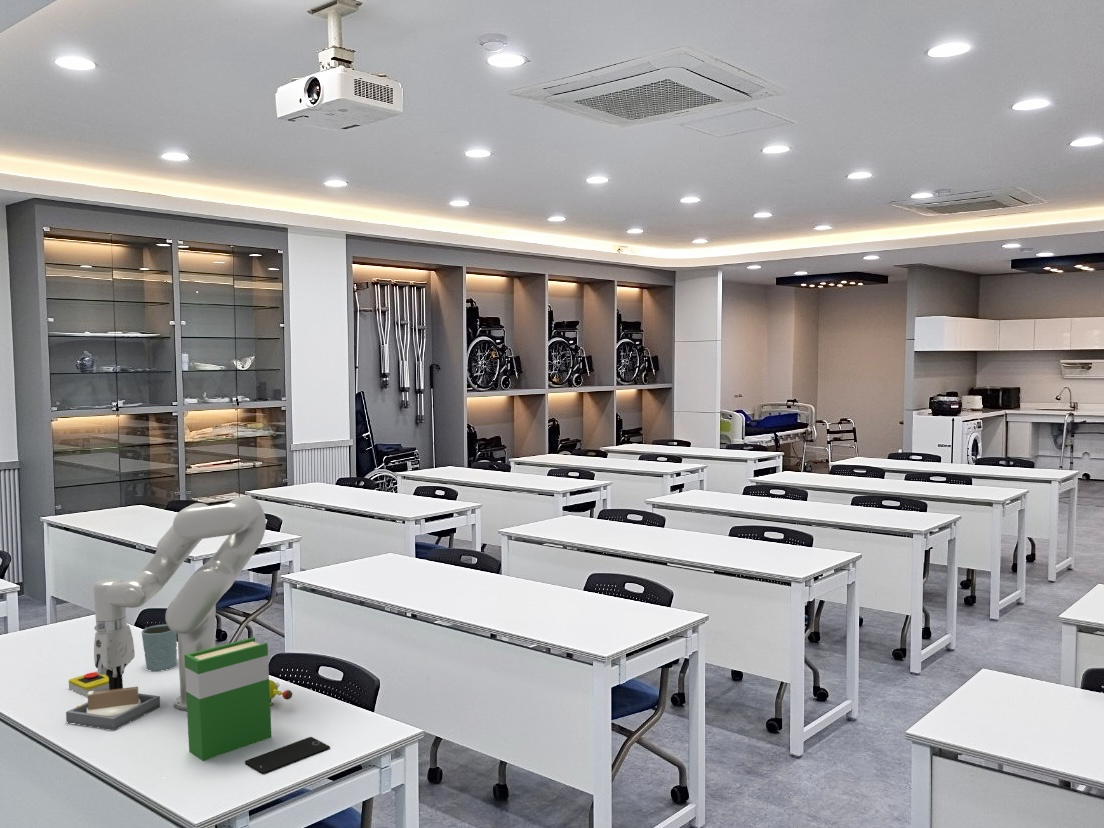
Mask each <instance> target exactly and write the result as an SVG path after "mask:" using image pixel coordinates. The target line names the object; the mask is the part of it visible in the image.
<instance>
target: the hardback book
mask: <svg viewBox="0 0 1104 828" xmlns="http://www.w3.org/2000/svg"><path fill="white" fill-rule="evenodd" d="M268 648H269V645H268V643H267V642H263V643H258V642H256V637H253V636H252V637H249V638H246V639H243V640H242V639H241V640H238V641H234V642H233V641H232V642H230V643H226V644H221V645H217V646H215V647H213V648H209V649H205V650H201V651H197V652H193V653H190V654H186V655H184V658H185V678H186V698H187V710H186V712H187V713H186V716H187V731H188V732H187V733H188V752H189V753H191V755H193V756H195V757H196V758H197V759H198V760H200V761H202V762H204V761H207V760H211V759H214V758H216V757H219V756H221V755H224V754H228V753H230V752H234V751H235V750H239V749H242V748H245V747H248V746H251V745H253V744H257V743H259V742H262V741H265V740H269V739H272V716H271V715H272V714H271V706H270V689H269V680H270V675H269V674H270V671H269V669H270V668H269V649H268Z"/></svg>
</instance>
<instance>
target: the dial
mask: <svg viewBox="0 0 1104 828" xmlns="http://www.w3.org/2000/svg"><path fill="white" fill-rule="evenodd" d="M138 693H139V686H131V687H123V688H122V689H114V690H106V691H98V692H94V691H89V692H88V694H87V695H88V698H87V702H88V708H87V713H89V714H96V715H103V716H110V717H115V716H117V715H119V714H121V713H123V712H125V711H127V710H129V709H131V708H133V707H135V706H137V705H139V704H141V701H140V699H139V696H138Z"/></svg>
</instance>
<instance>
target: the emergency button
mask: <svg viewBox="0 0 1104 828" xmlns="http://www.w3.org/2000/svg"><path fill="white" fill-rule="evenodd" d="M68 686H69V689H70V690H69V689H68V690H69V691H71V690H73V691H74V692H73V691H72V692H73V693H75V692H76V694H78V695H80V696H82V695H83V696H82V697H84V698H87V699H88V695H87V694H88V692H89V691H94V692H98V691H106V690H110V689H109V677H107V676H106V675H105V674H104V675H99V674H97V671H94V672H93V671H92V672H89V673H86V674H83V675H79V676H76V677H74V678H73V677H72V678H70V679H69V680H68Z"/></svg>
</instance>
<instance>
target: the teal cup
mask: <svg viewBox="0 0 1104 828" xmlns="http://www.w3.org/2000/svg"><path fill="white" fill-rule="evenodd" d="M141 637H142V644H143V645H142V646H143V652H144V658H145V667H146V670H147V669H148V670H151V671H150V672H162V671H161V670H165V671H167V670H166V669H169V670H171V669H170V668H172V667H174V666H175V667H176V666H177V661H178V660H177V659H178V658H177V655H178V652H177V651H178V633H175V632H173V631H172V630H171V629H170V628H169V627H168V626H167V623H165V624H156V625H151V626H149V627H145V628H143V629H142V630H141ZM175 667H174V668H175ZM172 669H173V668H172ZM148 670H147V671H148Z"/></svg>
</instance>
